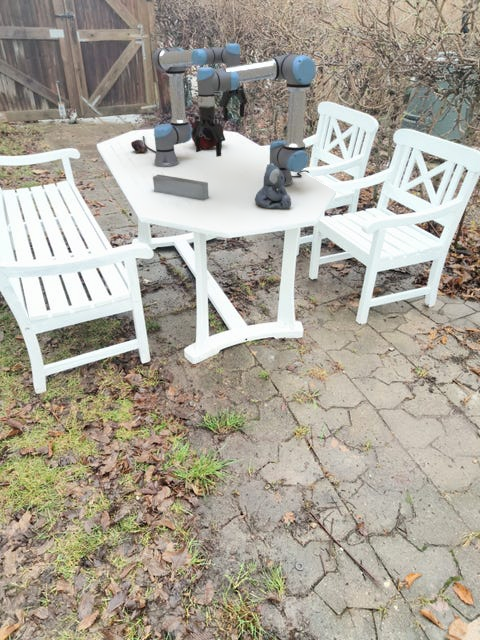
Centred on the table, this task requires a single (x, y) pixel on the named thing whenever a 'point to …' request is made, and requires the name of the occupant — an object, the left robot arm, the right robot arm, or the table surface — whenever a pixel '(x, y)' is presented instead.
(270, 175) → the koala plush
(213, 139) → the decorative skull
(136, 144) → the rock
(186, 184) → the bar
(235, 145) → the table surface
